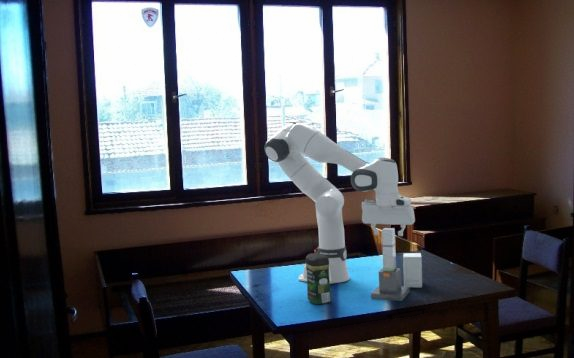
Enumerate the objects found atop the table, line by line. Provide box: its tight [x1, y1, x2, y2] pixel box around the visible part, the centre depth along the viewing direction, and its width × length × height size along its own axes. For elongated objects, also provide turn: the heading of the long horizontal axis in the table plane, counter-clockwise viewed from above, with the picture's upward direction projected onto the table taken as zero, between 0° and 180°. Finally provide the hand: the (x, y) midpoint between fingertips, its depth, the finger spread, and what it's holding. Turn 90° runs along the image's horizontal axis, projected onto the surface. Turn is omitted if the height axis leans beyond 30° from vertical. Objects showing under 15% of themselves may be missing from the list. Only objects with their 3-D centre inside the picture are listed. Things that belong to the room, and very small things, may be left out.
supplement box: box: [402, 252, 423, 288], centre depth 245 cm, size 7×7×13 cm
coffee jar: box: [305, 252, 332, 305], centre depth 230 cm, size 10×8×19 cm
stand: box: [370, 267, 411, 302], centre depth 233 cm, size 12×12×10 cm
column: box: [381, 227, 397, 272], centre depth 232 cm, size 4×4×18 cm
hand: (388, 235), depth 231 cm, fingers open, 8 cm apart
